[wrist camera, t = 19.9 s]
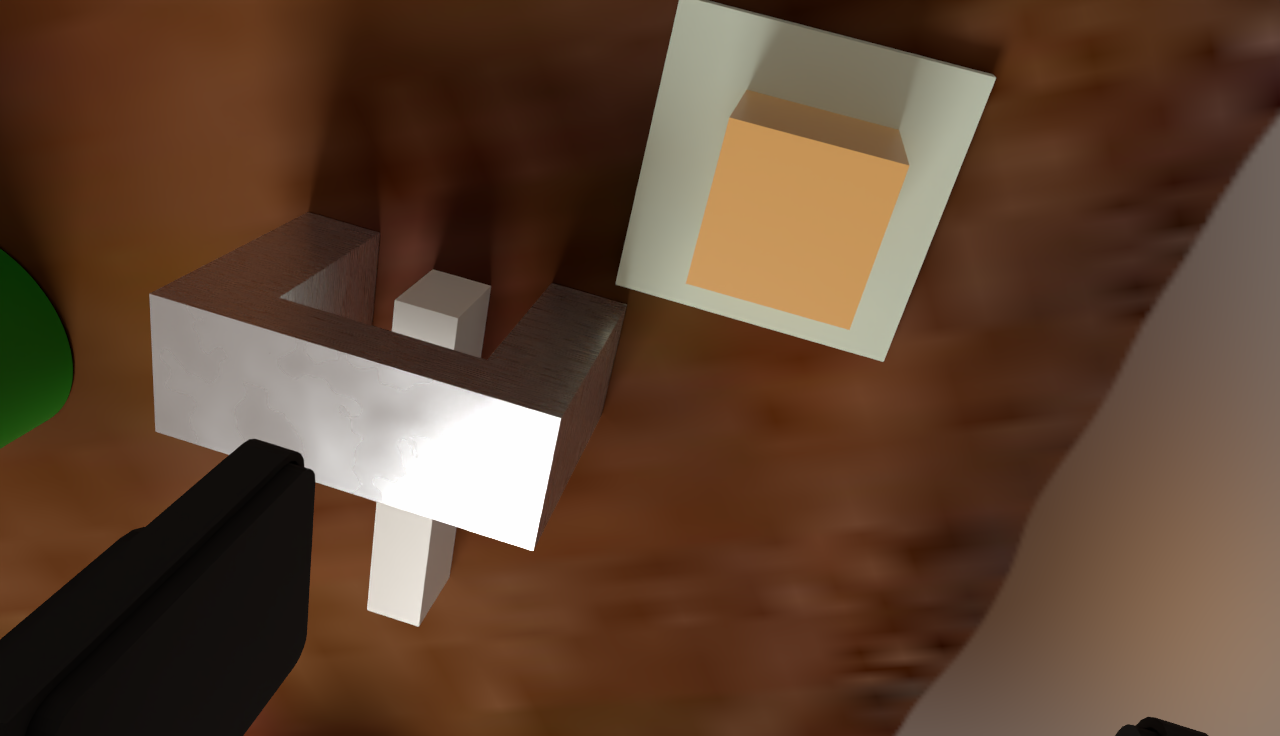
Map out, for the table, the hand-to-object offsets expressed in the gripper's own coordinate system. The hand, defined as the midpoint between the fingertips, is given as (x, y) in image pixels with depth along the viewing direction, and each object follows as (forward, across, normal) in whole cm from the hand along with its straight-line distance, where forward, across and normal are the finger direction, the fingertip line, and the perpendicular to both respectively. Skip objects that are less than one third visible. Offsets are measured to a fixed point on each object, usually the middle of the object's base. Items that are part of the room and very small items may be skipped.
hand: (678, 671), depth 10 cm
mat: (+23, 0, 0) cm, 23 cm away
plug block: (+22, 0, 0) cm, 22 cm away
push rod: (+23, +11, +14) cm, 29 cm away
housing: (+23, +11, +9) cm, 27 cm away
